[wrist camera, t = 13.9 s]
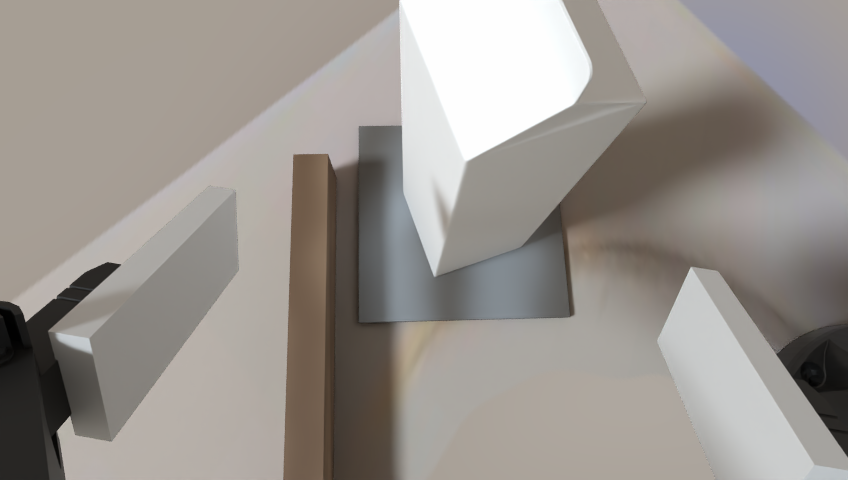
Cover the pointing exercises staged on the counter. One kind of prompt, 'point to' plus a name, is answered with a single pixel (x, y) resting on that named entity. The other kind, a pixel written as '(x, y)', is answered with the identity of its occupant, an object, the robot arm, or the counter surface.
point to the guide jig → (387, 284)
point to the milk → (503, 116)
